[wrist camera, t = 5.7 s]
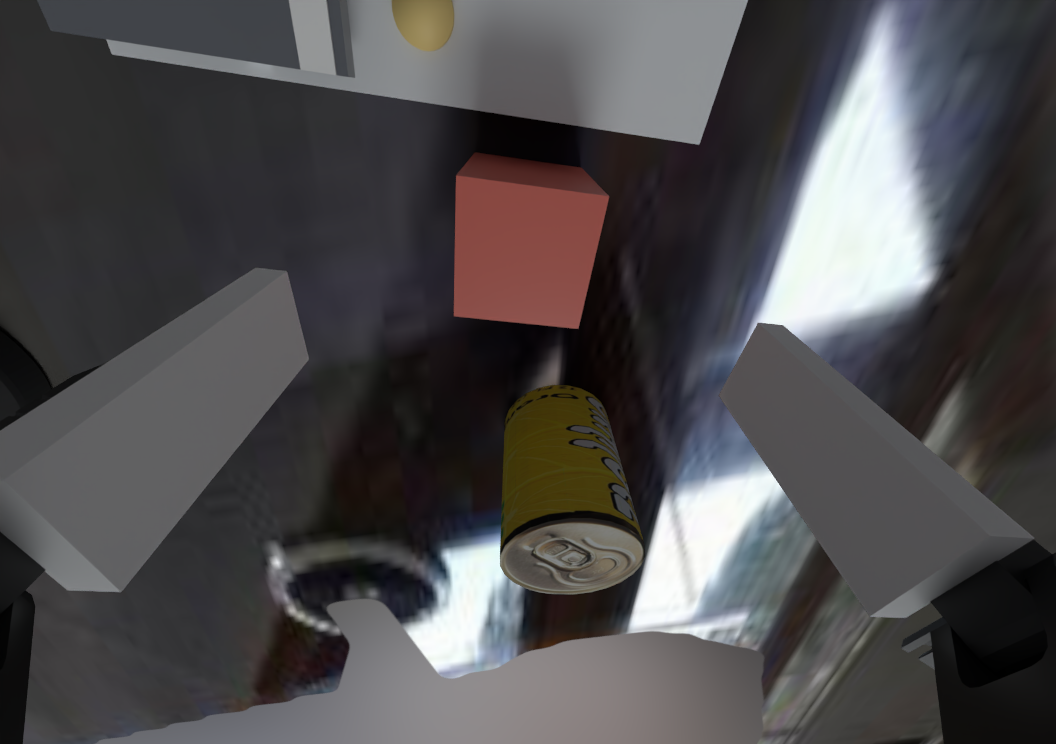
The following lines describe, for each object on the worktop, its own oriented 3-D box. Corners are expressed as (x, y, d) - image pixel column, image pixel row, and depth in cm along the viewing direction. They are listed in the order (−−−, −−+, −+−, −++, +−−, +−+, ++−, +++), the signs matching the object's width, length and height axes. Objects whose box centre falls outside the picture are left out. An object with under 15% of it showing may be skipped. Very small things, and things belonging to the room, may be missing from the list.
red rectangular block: (470, 258, 24) (453, 316, 18) (474, 152, 21) (456, 175, 14) (562, 269, 25) (578, 328, 18) (581, 167, 21) (609, 196, 15)
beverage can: (559, 472, 37) (574, 606, 27) (484, 431, 33) (470, 568, 24) (628, 419, 33) (675, 552, 23) (551, 366, 29) (568, 497, 20)
